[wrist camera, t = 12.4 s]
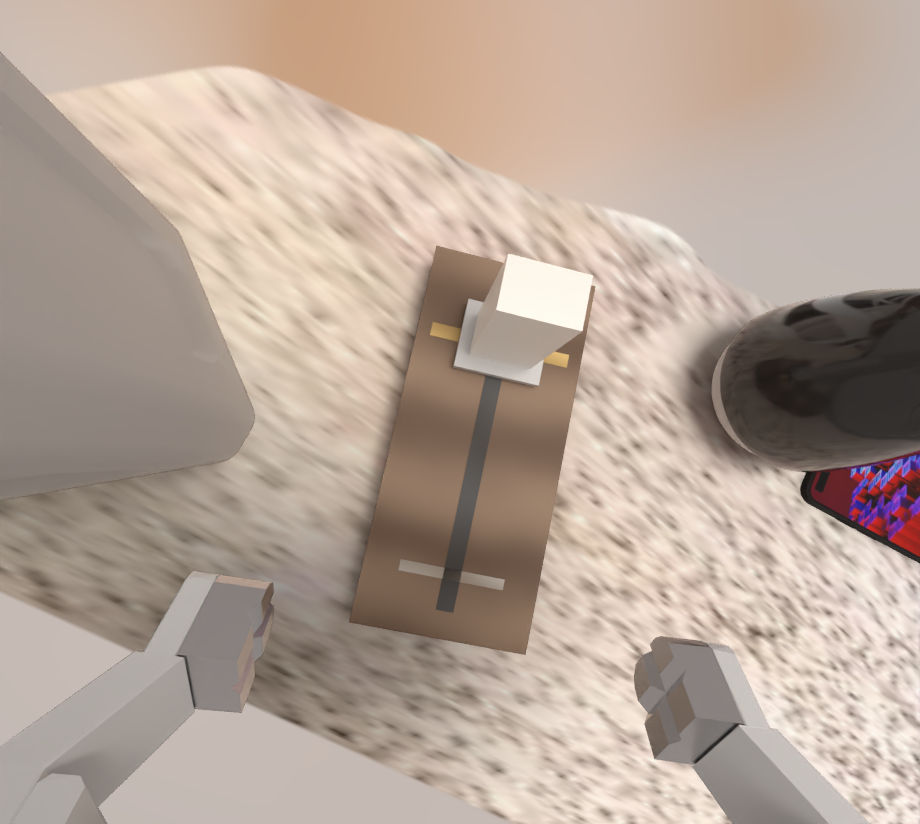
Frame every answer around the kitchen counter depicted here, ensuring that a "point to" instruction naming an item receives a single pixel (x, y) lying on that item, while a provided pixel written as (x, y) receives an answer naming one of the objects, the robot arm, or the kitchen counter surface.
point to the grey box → (98, 319)
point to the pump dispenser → (826, 382)
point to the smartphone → (873, 501)
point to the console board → (466, 481)
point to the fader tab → (522, 320)
